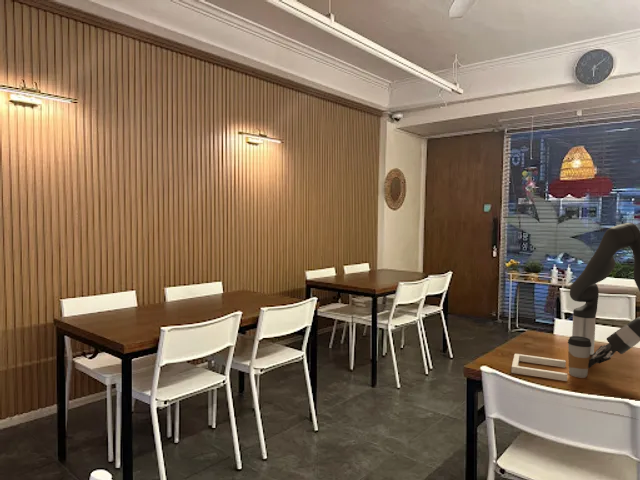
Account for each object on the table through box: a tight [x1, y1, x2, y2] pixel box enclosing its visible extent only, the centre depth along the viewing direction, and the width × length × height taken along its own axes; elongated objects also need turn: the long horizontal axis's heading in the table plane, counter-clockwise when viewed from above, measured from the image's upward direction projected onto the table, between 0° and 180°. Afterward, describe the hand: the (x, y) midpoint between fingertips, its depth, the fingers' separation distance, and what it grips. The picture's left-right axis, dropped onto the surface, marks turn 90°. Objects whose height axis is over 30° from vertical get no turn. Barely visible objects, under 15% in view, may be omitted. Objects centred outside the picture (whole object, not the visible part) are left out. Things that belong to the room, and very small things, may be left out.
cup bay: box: [511, 353, 568, 382], centre depth 192 cm, size 20×20×2 cm
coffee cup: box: [567, 335, 592, 379], centre depth 185 cm, size 8×8×15 cm
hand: (586, 365), depth 184 cm, fingers closed
